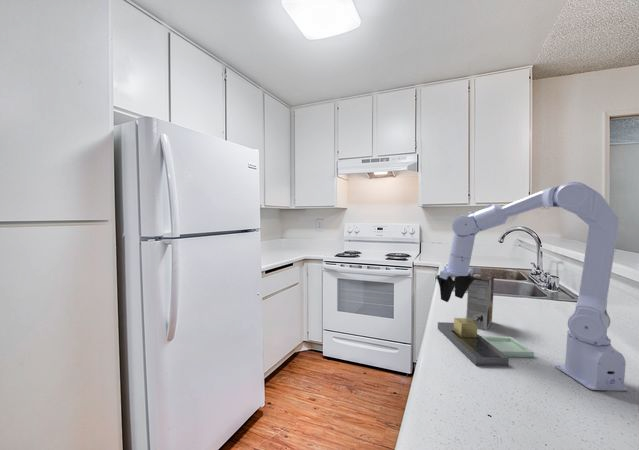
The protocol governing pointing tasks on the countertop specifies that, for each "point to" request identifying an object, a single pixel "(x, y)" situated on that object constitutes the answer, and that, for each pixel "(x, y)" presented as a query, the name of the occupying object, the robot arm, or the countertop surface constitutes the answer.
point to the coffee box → (480, 300)
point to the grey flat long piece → (475, 348)
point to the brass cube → (465, 328)
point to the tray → (509, 346)
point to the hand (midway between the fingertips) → (451, 298)
